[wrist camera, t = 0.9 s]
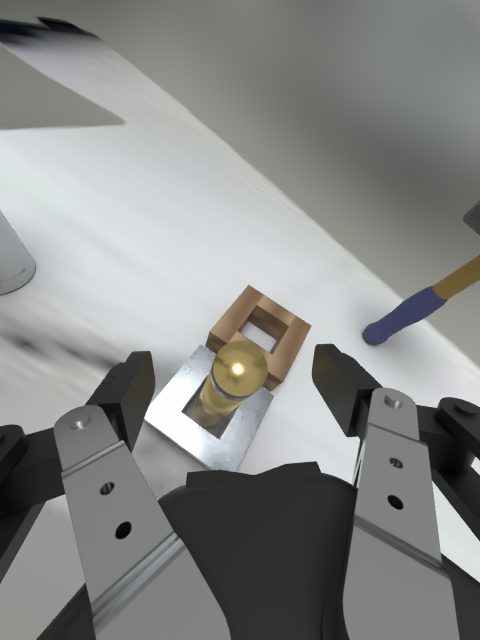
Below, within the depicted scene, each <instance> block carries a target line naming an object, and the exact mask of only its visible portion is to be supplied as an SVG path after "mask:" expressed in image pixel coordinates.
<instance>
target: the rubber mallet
mask: <svg viewBox="0 0 480 640" xmlns="http://www.w3.org/2000/svg"><path fill="white" fill-rule="evenodd" d="M463 221H464V222H465V223H466V224H467V225H468V226H469V227H471V228H472V229H473V230H474V231H475V232H476V233H478V234H479V235H480V201H479V202H478V203H477V204H476V205H475V206H473V207H472V208H471V209H470V210H469V211H468V212H467V213H466V214H465V215H464V218H463ZM478 280H480V255H479V256H477V257H476V258H474V259H473V260H471V261H470V262H469V263H467V264H465V265H464V266H462V267H461V268H460V269H458V270H456V271H455V272H453V273H452V274H450V275H449V276H447V277H446V278H444V279H443V280H441V281H440V282H438V283H437V284H435V285H434V286H430V287H428V288H425V289H423V290H422V291H420V292H418V293H416V294H414V295H413V296H411V297H410V298H408V299H406V300H405V301H403V302H402V303H401V304H400V305H399V306H398V307H397V308H395V309H394V310H393V311H392V312H391V313H389V314H388V315H386V316H385V317H383V318H382V319H380V320H379V321H377V322H375V323H372V324H370V325H368V326H367V327H366V328H365V332H364V338H365V339H366V341H368V342H369V343H371V344H381V343H383V342H385V341H386V340H387V339H388V338H389V337H390V336H391V335H393V334H395V333H396V332H398V331H400V330H401V329H403V328H405V327H407V326H409V325H411V324H414V323H416V322H418V321H420V320H422V319H424V318H425V317H427V316H429V315H430V314H432V313H433V312H434V311H435V310H437V309H439V308H440V307H441V306H442V305H444V304H445V303H446V301H447V300H448V299H449V298H451V297H452V296H454V295H455V294H457V293H459V292H460V291H462V290H464V289H465V288H467V287H469V286H470V285H472V284H474V283H475V282H477V281H478Z"/></svg>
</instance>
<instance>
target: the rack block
mask: <svg viewBox="0 0 480 640" xmlns="http://www.w3.org/2000/svg"><path fill="white" fill-rule="evenodd" d="M248 321H249V322H251V323H252V324H254V325H255V326H257V327H258V328H260V329H261V330H263V331H264V332H266V333H267V334H269V335H270V336H272V337H273V338H275V339H276V340H277V341H276V343H275V345H274V346H273V348H272V350H271V351H270V353H269V352H267V351H266V350H264V349H263V348H261V347H260V346H259V345H257V344H256V343H254V342H253V341H251V340H250V339H248V338H247V337H245V336H244V335H242V334H241V333H239V332H240V331H241V330H242V328H243V327H244V326H245V324H246V323H247V322H248ZM310 328H311V325H309V324H308V323H306V322H305V321H303V320H302V319H300V318H299V317H297V316H296V315H294V314H293V313H291V312H290V311H288V310H286V309H285V308H283V307H282V306H280V305H279V304H277V303H276V302H274V301H273V300H271V299H270V298H268V297H267V296H265V295H263V294H262V293H260V292H259V291H257V290H256V289H254V288H253V287H251V286H250V285H248V286H247V288H246V289H245V290H244V291H243V292H242V294H241V295H240V296H239V297H238V298H237V299H236V301H235V302H234V303H233V304H232V305H231V307H230V308H229V309H228V310H227V311H226V313H225V314H224V315H223V316H222V317H221V319H220V320H219V321H218V322H217V323H216V325H215V326H214V327H213V328H212V329H211V331H210V332H209V336H208V339H207V342H206V347H207V348H209V349H210V350H211V351H213V352H214V353H216V354H218V352H219V350H220V349H221V348H222V347H223V346H224V345H226V344H227V343H229V342H233V341H246V342H249V343H251V344H253V345H255V346H256V347H257V348H258V349H260V351H261V352H262V353H263V355H264V356H265V358H266V361H267V364H268V374H267V378H266V380H265V382H264V384H263V385H262V386H263V387H265V388H266V389H268V390H269V391H271V390H273V389H274V388H275V387H277V386H278V385H280V384H281V383H282V382H283V381H284V379H285V377H286V375H287V373H288V371H289V369H290V367H291V365H292V364H293V362H294V360H295V358H296V356H297V354H298V352H299V350H300V348H301V346H302V344H303V342H304V340H305V338H306V336H307V334H308V332H309V330H310Z"/></svg>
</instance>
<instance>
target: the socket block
mask: <svg viewBox="0 0 480 640" xmlns="http://www.w3.org/2000/svg"><path fill="white" fill-rule="evenodd" d="M215 357H216V355H214V354H213V353H211V352H210V351H209V350H207V349H206V348H204V347H203V346H201V345H200V346H199V347H198V348H197V349H196V351H195V352H194V353H193V354H192V355H191V357H190V358H189V359H188V360H187V361H186V363H185V364H184V365H183V366H182V367H181V369H180V370H179V371H178V372H177V373H176V375H175V376H174V377H173V378H172V379H171V381H170V382H169V383H168V384H167V385H166V387H165V388H164V389H163V390H162V392H161V393H160V394H159V395H158V396H157V398H156V399H155V400H154V401H153V402H152V404H151V405H150V406H149V407H148V410H147V413H146V416H145V418H144V421H145V422H146V423H147V424H149V425H150V426H151V427H153V428H154V429H155V430H157V431H158V432H159V433H161V434H162V435H163V436H164V437H166V438H167V439H168V440H170V441H171V442H172V443H174V444H175V445H176V446H178V447H179V448H180V449H182V450H183V451H184V452H186V453H187V454H188V455H190V456H191V457H192V458H194V459H195V460H196V461H198V462H199V463H200V464H202V465H203V466H204V467H206V468H207V469H208V470H226V471H232V472H236V470H237V468H238V466H239V464H240V462H241V460H242V458H243V456H244V454H245V452H246V450H247V448H248V446H249V444H250V442H251V440H252V438H253V436H254V434H255V433H256V431H257V429H258V427H259V425H260V423H261V421H262V419H263V417H264V415H265V413H266V411H267V409H268V407H269V405H270V403H271V401H272V399H273V397H274V396H273V395H272V394H270V393H269V392H267V391H266V390H265V389H263V388H262V387H260V388H259V389H258V390H257V391H256V392H255V393H254V394H253V395H252V396H250V397H249V398H247V399H246V400H245V401H244V402H242V403H241V404H240V405H239V406H238V407H237V408H235V409H234V410H233V412H232V413H231V415H230V417H229V418H228V420H227V422H226V423H225V425H224V427H223V428H222V430H221V432H220V433H219V435H218V437H217V438H216V437H214V436H213V435H212V434H210V433H209V432H208V431H206V430H205V429H204V428H202V427H201V426H200V425H198V424H197V423H195V422H194V421H193V420H191V419H190V418H189V417H187V416H186V415H185V414H183V412H184V410H185V409H186V408H187V406H188V405H189V403H190V402H191V401H192V399H193V398H194V397H195V395H196V394H197V393H198V391H199V390H200V388H201V387H202V386H203V384H204V383H205V382H206V379H207V377H208V374H209V372H210V370H211V366H212V363H213V361H214V359H215Z"/></svg>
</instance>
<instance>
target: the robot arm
mask: <svg viewBox="0 0 480 640" xmlns="http://www.w3.org/2000/svg"><path fill="white" fill-rule="evenodd" d="M34 272H35V263H34V260H33V258H32V257H31V255H30V254H29V252H28V251H27V249H26V248H25V246H24V245H23V243H22V242H21V240H20V239H19V237H18V236H17V234H16V233H15V231H14V230H13V228H12V227H11V225H10V224H9V222H8V221H7V219H6V218H5V216H4V215H3V213H2V212H1V210H0V294H5V293H8V292H11V291H14V290H16V289H18V288H20V287H21V286H23V285H24V284H26V283H27V282H28V281H29V280H30V279H31V277H32V276H33V274H34ZM312 379H313V383H314V385H315V386H316V388H317V389H318V391H319V393H320V394H321V396H322V398H323V399H324V401H325V403H326V404H327V406H328V408H329V409H330V411H331V412H332V414H333V416H334V417H335V419H336V421H337V422H338V424H339V426H340V427H341V429H342V430H343V432H344V434H345V435H346V437H356V436H358V437H359V438H360V443H359V447H358V453H357V458H356V463H355V468H354V474H353V479H352V484H350V483H348V482H346V481H344V480H342V479H340V478H337V477H335V476H332V475H329V474H325V473H321V471H320V468H319V466H318V464H317V461H315V462H304V463H292V464H285V465H282V466H279V467H276V468H274V469H271V470H268V471H265V472H263V473H260V474H257V475H249V474H243V473H237V472H232V471H226V470H210V471H198V472H187V479H186V485H183V486H180V487H178V488H176V489H174V490H172V491H170V492H169V493H167V494H166V495H164V496H163V497H162V498H160V499H159V500H158V501H157V500H156V498H155V496H154V494H153V493H152V491H151V489H150V487H149V485H148V484H147V482H146V480H145V478H144V476H143V475H142V473H141V471H140V469H139V467H138V465H137V464H136V462H135V460H134V458H133V456H132V455H131V453H132V451H133V448H134V445H135V443H136V440H137V437H138V435H139V432H140V429H141V426H142V424H143V421H144V418H145V416H146V413H147V410H148V407H149V405H150V402H151V399H152V397H153V394H154V391H155V375H154V369H153V362H152V356H151V353H150V351H135V352H132V353H131V354H130V356H129V357H128V359H127V360H126V362H125V363H119V364H118V365H116V366H115V367H113V368H112V369H111V370H110V371H109V372H108V374H107V375H106V377H105V378H104V379H103V381H102V382H101V385H99V386H98V388H97V389H96V390H95V392H94V393H93V395H92V396H91V397H90V399H89V400H88V401H87V403H86V404H85V406H81V407H78V408H75V409H73V410H71V411H69V412H67V413H66V414H64V415H63V416H62V417H61V418H60V419H59V420H58V421H57V422H56V423H55V425H54V427H53V428H50V429H46V430H43V431H39V432H35V433H32V434H28V435H25V433H24V431H23V429H22V427H20V426H19V425H5V426H0V583H1V581H2V580H3V578H4V576H5V574H6V572H7V571H8V569H9V567H10V565H11V563H12V562H13V560H14V558H15V556H16V554H17V553H18V551H19V549H20V547H21V545H22V544H23V542H24V540H25V538H26V536H27V534H28V533H29V531H30V529H31V527H32V526H33V524H34V522H35V520H36V518H37V517H38V515H39V513H40V511H41V509H42V508H43V506H44V504H45V502H46V501H48V500H50V499H53V498H56V497H58V496H61V495H64V494H66V498H67V503H68V507H69V511H70V516H71V520H72V524H73V529H74V533H75V538H76V542H77V546H78V551H79V555H80V560H81V564H82V568H83V572H84V577H85V581H86V583H85V584H84V585H83V586H82V587H81V588H80V589H79V590H78V592H77V593H76V594H75V595H74V596H73V597H72V599H71V600H70V601H69V602H68V603H67V604H66V606H65V607H64V608H63V609H62V610H61V612H60V613H59V614H58V615H57V616H56V617H55V619H54V620H53V621H52V622H51V623H50V624H49V626H48V627H47V628H46V629H45V630H44V631H43V632H42V634H41V635H40V636H39V637H38V638H37V639H36V640H480V583H479V582H478V581H477V580H476V579H474V578H473V577H472V576H470V575H469V574H468V573H466V572H465V571H464V570H463V569H461V568H460V567H459V566H457V565H456V564H455V563H454V562H452V561H451V560H450V559H448V558H447V557H446V556H444V555H443V554H442V553H441V552H440V543H439V535H438V527H437V519H436V511H435V502H434V494H433V486H432V481H433V482H434V483H435V485H436V486H437V487H438V488H439V490H440V491H441V492H442V494H443V495H444V496H445V497H446V499H447V500H448V501H449V502H450V504H451V505H452V506H453V508H454V509H455V510H456V511H457V513H458V514H459V515H460V517H461V518H462V519H463V520H464V522H465V523H466V524H467V526H468V527H469V528H470V529H471V531H472V532H473V533H474V535H475V536H476V537H477V538H478V540H479V541H480V475H479V474H478V473H477V472H476V471H475V470H474V469H473V468H472V467H471V464H472V462H473V461H474V459H475V457H477V458H478V459H479V460H480V407H478V406H476V405H474V404H472V403H470V402H468V401H465V400H462V399H458V398H451V397H447V398H442V399H441V400H440V402H439V404H438V407H437V408H433V407H427V406H420V405H416V404H415V402H414V401H413V400H412V399H411V398H410V397H409V396H407V395H406V394H404V393H402V392H400V391H397V390H394V389H391V388H383V387H382V386H381V385H380V384H379V383H378V382H377V381H376V380H375V379H374V378H373V377H372V376H371V375H370V374H369V373H368V372H367V371H365V369H364V368H363V367H362V366H360V364H359V363H358V362H357V361H356V360H355V359H354V358H352V357H350V356H348V355H347V354H345V353H341V352H340V350H339V349H338V348H337V347H336V346H335V345H334V344H317V345H316V347H315V352H314V359H313V366H312Z"/></svg>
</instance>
